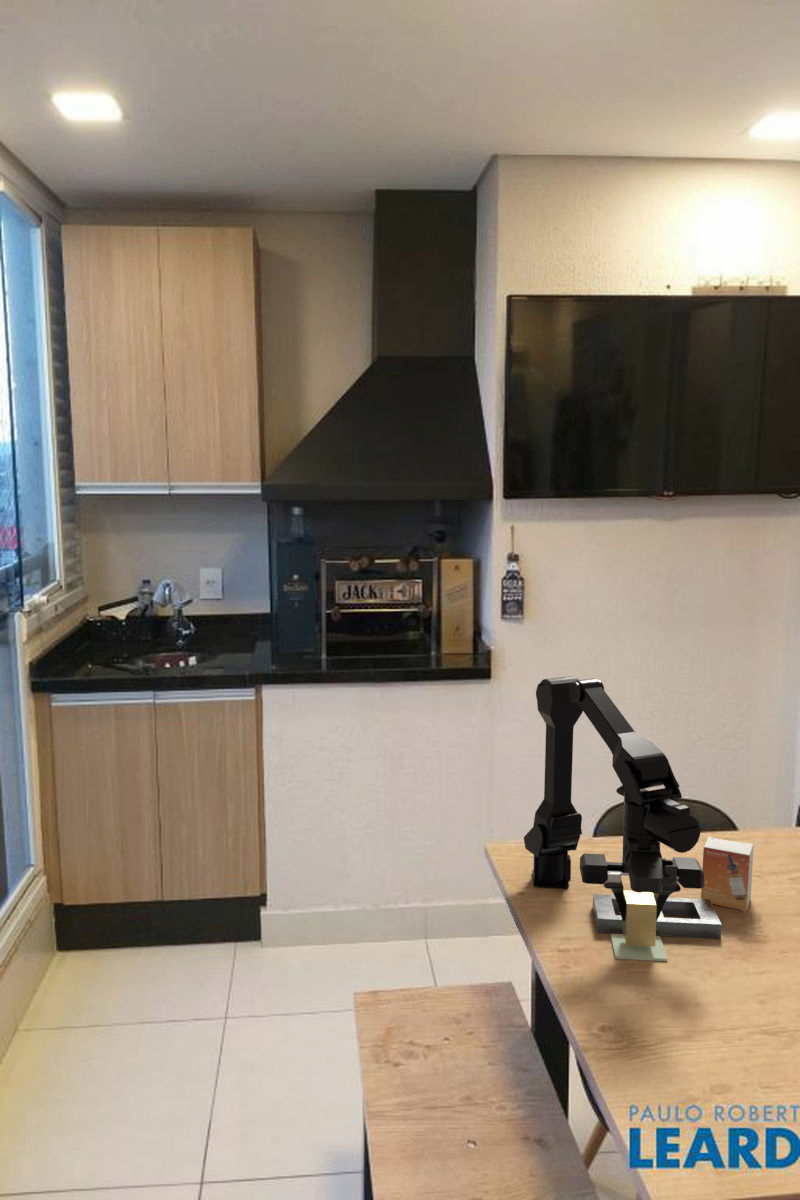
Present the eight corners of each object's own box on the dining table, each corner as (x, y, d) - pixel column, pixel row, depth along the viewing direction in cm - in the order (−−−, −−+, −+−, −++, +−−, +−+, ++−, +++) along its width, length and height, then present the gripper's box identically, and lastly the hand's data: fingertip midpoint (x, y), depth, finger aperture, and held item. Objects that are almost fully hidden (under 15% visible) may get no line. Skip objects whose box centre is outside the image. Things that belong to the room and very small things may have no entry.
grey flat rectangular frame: (597, 932, 151) (598, 918, 151) (592, 907, 160) (593, 894, 160) (721, 938, 149) (721, 924, 149) (709, 912, 158) (709, 899, 158)
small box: (699, 902, 162) (702, 846, 160) (705, 889, 167) (707, 835, 165) (747, 912, 158) (750, 855, 157) (751, 898, 163) (754, 843, 162)
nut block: (625, 944, 144) (626, 903, 143) (622, 930, 149) (623, 890, 148) (655, 946, 144) (656, 905, 143) (650, 932, 148) (652, 891, 147)
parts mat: (615, 958, 143) (615, 956, 143) (610, 936, 150) (610, 934, 150) (667, 961, 142) (667, 958, 142) (659, 938, 149) (660, 936, 149)
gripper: (586, 846, 137) (584, 943, 139) (713, 851, 135) (709, 949, 137) (580, 818, 148) (578, 908, 150) (698, 823, 146) (694, 914, 148)
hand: (638, 920), depth 146 cm, fingers closed on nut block, 4 cm apart
